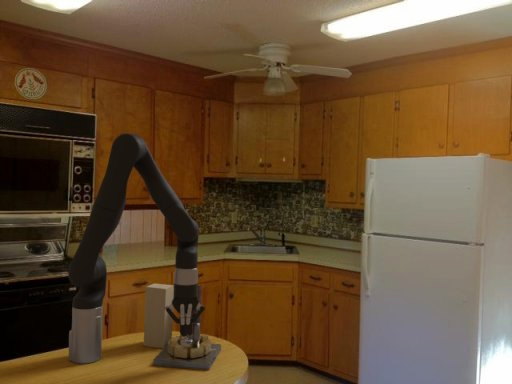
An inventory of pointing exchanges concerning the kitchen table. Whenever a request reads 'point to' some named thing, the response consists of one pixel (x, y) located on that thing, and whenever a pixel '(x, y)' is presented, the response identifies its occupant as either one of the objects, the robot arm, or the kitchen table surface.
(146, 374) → the kitchen table surface
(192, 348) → the tan block ring
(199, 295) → the candle
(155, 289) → the light grey tall block
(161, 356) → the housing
